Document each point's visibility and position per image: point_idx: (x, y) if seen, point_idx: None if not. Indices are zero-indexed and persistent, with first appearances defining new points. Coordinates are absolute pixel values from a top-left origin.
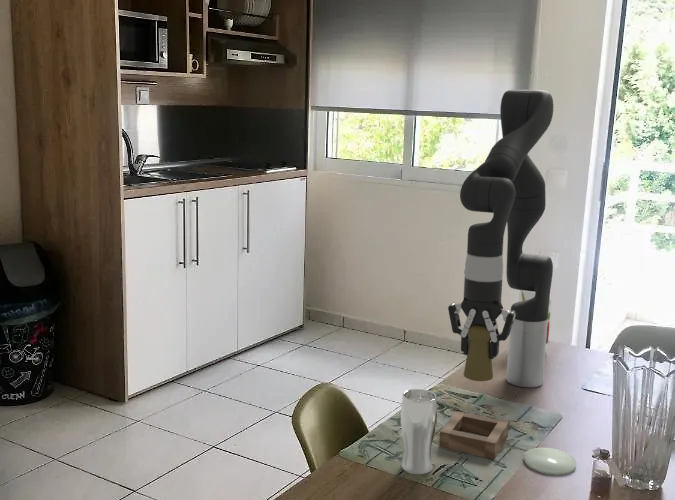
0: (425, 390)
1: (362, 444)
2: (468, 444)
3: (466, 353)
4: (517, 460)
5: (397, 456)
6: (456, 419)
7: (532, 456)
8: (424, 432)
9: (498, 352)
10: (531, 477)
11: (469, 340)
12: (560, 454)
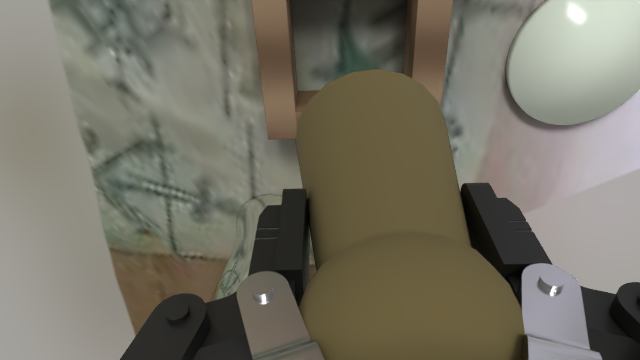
0: None
1: (108, 189)
2: None
3: (309, 245)
4: (488, 85)
5: (210, 201)
6: (276, 30)
7: (533, 68)
8: None
9: (518, 215)
10: (526, 150)
11: (304, 258)
12: (623, 12)
